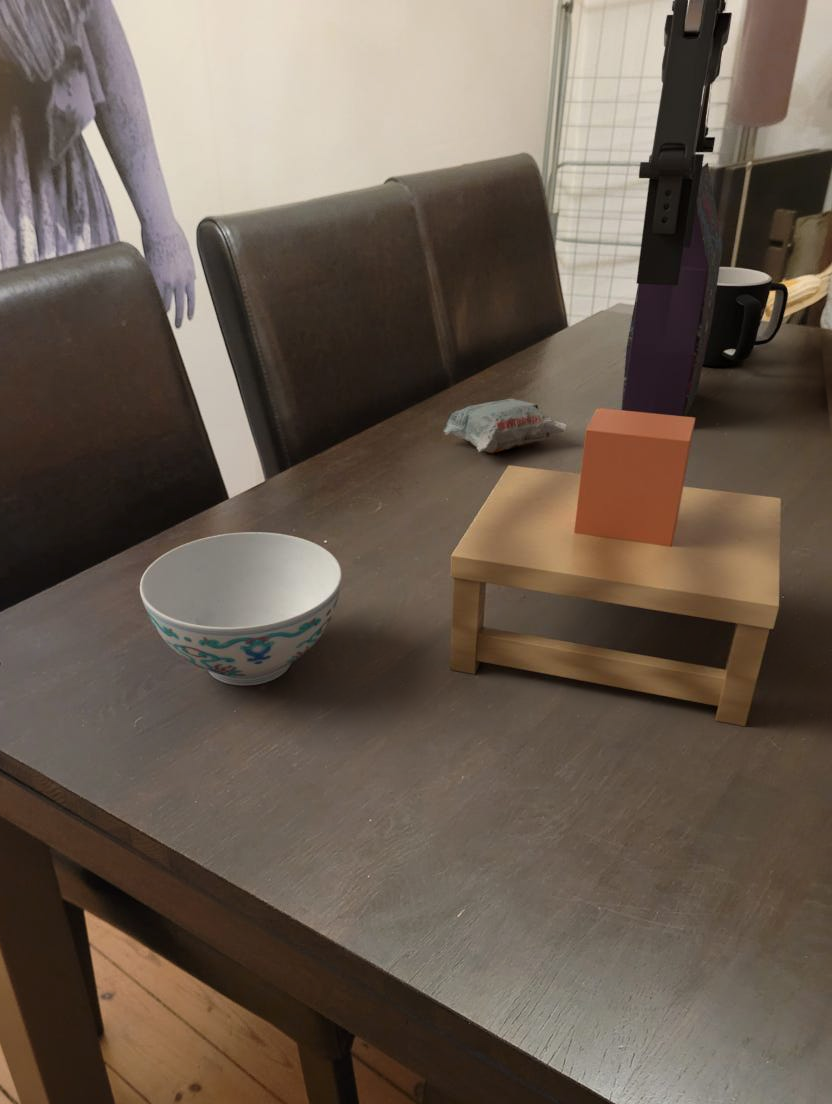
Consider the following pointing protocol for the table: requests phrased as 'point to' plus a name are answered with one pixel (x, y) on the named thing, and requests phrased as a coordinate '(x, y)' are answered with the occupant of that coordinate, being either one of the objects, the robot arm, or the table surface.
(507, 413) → the packaged food
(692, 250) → the purple coffee bag
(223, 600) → the chinaware
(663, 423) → the small box
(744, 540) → the wooden footstool
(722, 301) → the mug
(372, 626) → the table surface
